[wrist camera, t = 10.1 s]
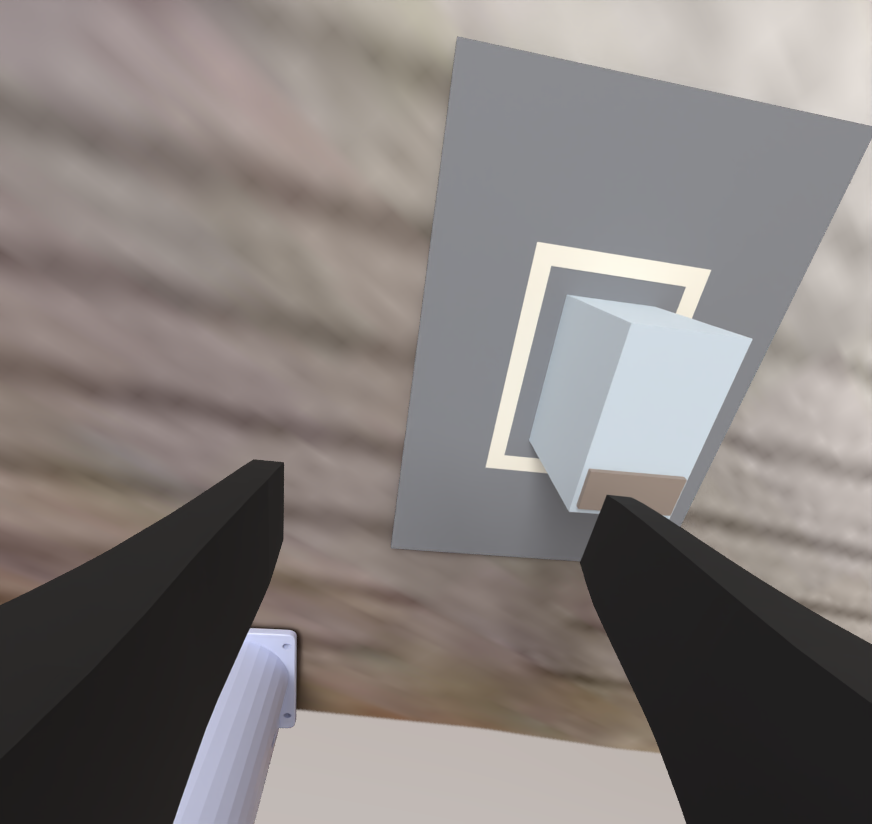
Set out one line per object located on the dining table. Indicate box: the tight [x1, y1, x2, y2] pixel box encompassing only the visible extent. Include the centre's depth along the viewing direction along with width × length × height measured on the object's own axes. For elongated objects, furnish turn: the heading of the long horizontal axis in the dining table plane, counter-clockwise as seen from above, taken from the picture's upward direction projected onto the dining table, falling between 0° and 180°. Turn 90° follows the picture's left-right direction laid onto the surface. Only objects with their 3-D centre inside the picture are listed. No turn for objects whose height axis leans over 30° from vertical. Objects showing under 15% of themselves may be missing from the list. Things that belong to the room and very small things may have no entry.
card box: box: [529, 295, 752, 519], centre depth 16 cm, size 4×7×6 cm, turn 172°
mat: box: [391, 37, 872, 561], centre depth 19 cm, size 22×16×1 cm
